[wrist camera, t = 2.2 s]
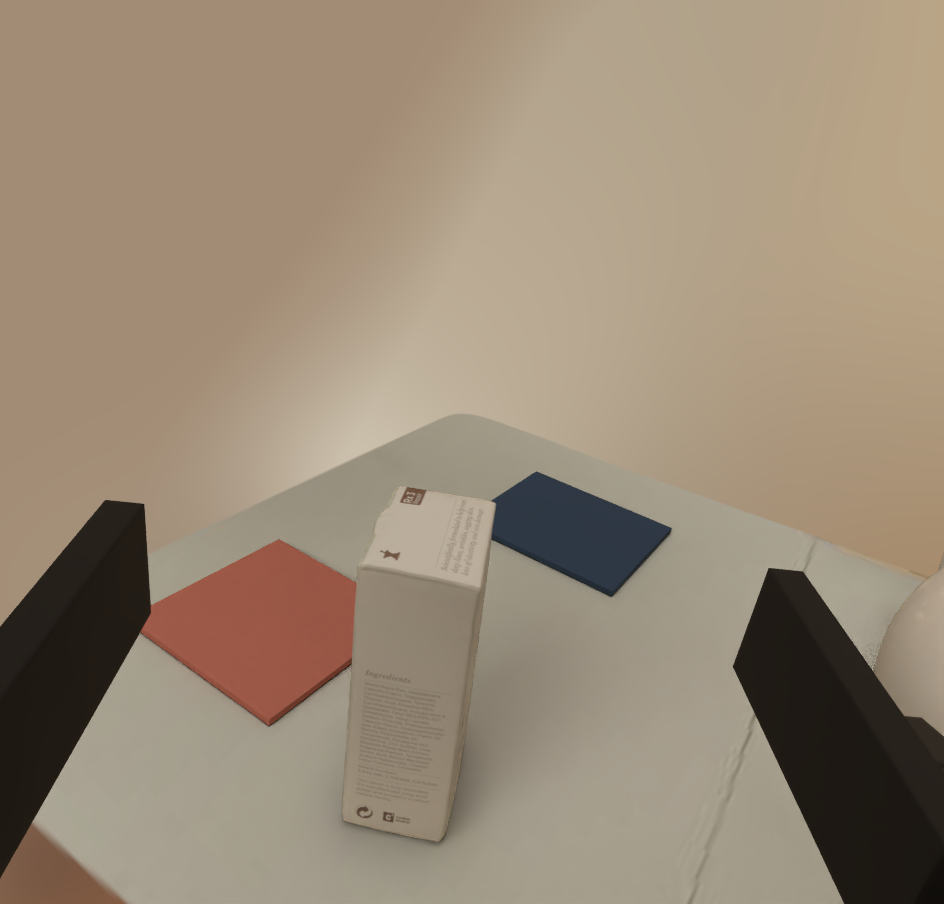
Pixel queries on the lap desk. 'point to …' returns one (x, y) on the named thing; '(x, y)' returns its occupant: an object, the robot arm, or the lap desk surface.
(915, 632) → the teapot
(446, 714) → the cosmetic box
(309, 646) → the rose mat
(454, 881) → the lap desk surface
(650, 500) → the lap desk surface
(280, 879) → the lap desk surface
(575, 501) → the blue mat
